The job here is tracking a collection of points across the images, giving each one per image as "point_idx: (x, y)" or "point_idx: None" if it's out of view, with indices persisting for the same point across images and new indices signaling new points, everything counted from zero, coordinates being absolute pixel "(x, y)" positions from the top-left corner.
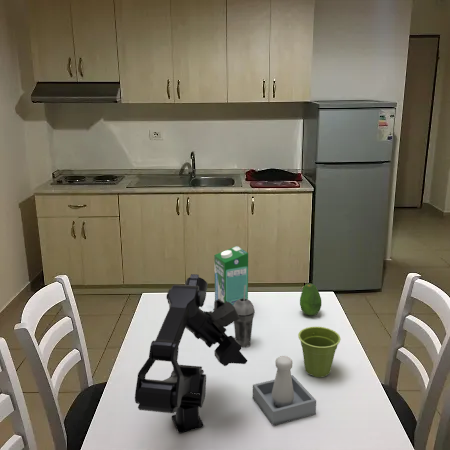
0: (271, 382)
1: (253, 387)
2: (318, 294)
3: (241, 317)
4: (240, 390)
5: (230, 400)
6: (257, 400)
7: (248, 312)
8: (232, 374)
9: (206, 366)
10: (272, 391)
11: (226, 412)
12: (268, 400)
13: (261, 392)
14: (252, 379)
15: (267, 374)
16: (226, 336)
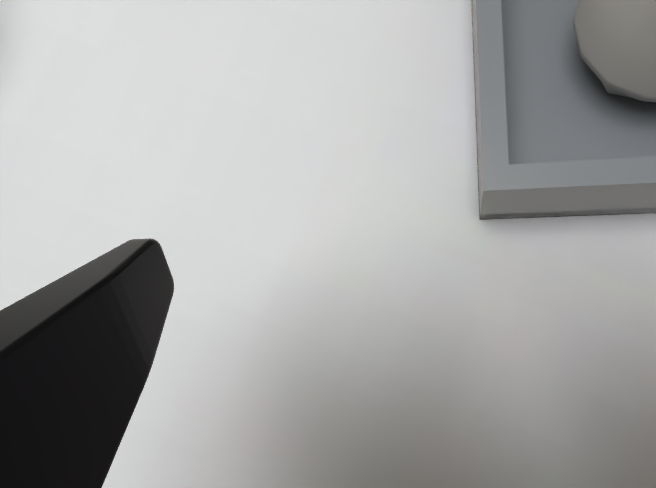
0: (502, 38)
1: (498, 194)
2: None
3: None
4: (367, 265)
5: (450, 378)
6: (571, 208)
7: None
8: (180, 248)
9: None
10: (648, 72)
11: (579, 465)
12: (579, 131)
13: (618, 162)
14: (283, 143)
15: (272, 34)
16: (27, 361)
